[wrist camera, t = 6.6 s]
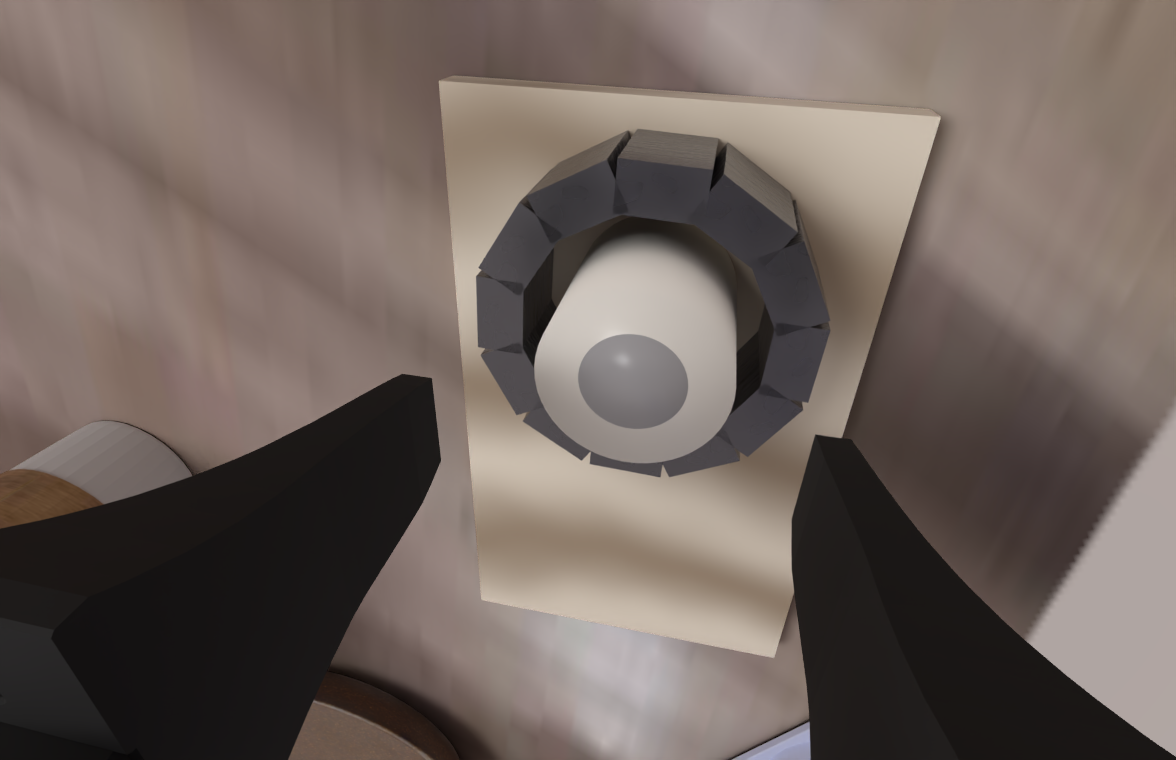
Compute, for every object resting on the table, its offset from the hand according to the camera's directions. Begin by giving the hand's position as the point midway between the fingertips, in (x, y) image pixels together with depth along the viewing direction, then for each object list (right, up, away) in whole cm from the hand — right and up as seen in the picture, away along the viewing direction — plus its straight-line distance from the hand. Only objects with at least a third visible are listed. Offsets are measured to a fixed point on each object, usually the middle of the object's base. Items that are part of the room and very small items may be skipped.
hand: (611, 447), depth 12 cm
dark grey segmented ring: (+1, +4, +6) cm, 7 cm away
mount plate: (+1, 0, +10) cm, 10 cm away
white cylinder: (+1, +4, +6) cm, 7 cm away
